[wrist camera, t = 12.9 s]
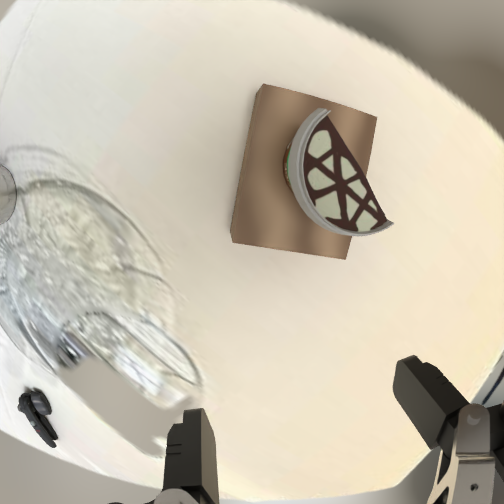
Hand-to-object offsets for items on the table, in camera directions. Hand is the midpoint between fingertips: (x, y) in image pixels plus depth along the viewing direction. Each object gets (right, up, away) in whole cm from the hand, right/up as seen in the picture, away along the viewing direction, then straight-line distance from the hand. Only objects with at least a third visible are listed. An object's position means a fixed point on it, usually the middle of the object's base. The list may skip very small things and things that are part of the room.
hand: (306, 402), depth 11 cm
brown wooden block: (+4, +16, +28) cm, 32 cm away
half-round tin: (+4, +14, +22) cm, 26 cm away
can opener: (-47, -29, +36) cm, 66 cm away
